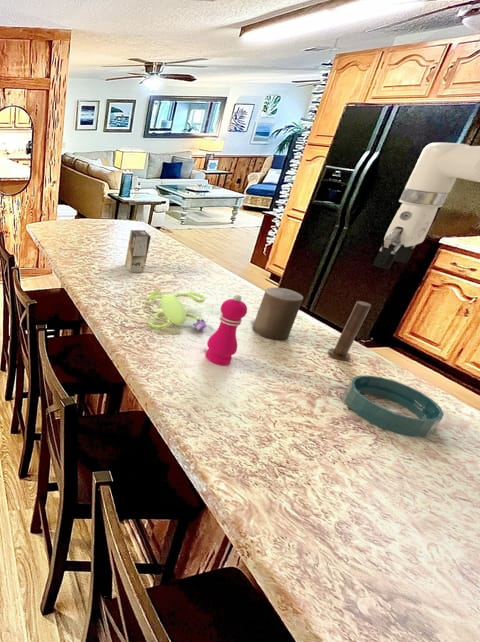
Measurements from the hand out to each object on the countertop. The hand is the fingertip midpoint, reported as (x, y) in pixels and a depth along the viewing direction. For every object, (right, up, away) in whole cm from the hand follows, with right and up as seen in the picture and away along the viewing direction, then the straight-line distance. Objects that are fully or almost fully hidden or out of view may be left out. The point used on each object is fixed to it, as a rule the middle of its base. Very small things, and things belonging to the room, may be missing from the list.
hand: (389, 264), depth 100 cm
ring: (-13, -36, -11) cm, 40 cm away
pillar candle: (-15, -20, +23) cm, 34 cm away
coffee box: (-42, +4, +70) cm, 82 cm away
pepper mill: (-40, -26, +9) cm, 48 cm away
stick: (-3, -26, +11) cm, 28 cm away
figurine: (-42, -15, +32) cm, 55 cm away
